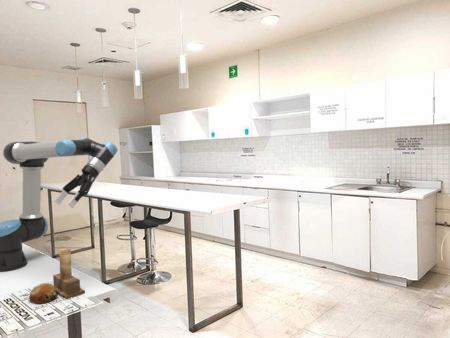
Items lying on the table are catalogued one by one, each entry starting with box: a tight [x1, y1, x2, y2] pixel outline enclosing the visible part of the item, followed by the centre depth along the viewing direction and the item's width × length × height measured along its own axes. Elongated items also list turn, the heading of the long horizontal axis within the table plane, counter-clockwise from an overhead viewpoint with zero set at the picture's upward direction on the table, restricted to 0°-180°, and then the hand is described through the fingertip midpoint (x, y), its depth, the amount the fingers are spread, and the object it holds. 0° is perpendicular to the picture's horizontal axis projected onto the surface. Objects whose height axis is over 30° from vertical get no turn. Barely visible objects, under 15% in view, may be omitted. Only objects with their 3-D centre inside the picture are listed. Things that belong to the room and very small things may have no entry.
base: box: [52, 273, 86, 300], centre depth 148 cm, size 16×8×6 cm, turn 49°
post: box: [58, 247, 73, 279], centre depth 147 cm, size 4×4×12 cm
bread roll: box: [28, 282, 58, 305], centre depth 141 cm, size 10×10×8 cm
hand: (63, 204), depth 155 cm, fingers open, 13 cm apart
